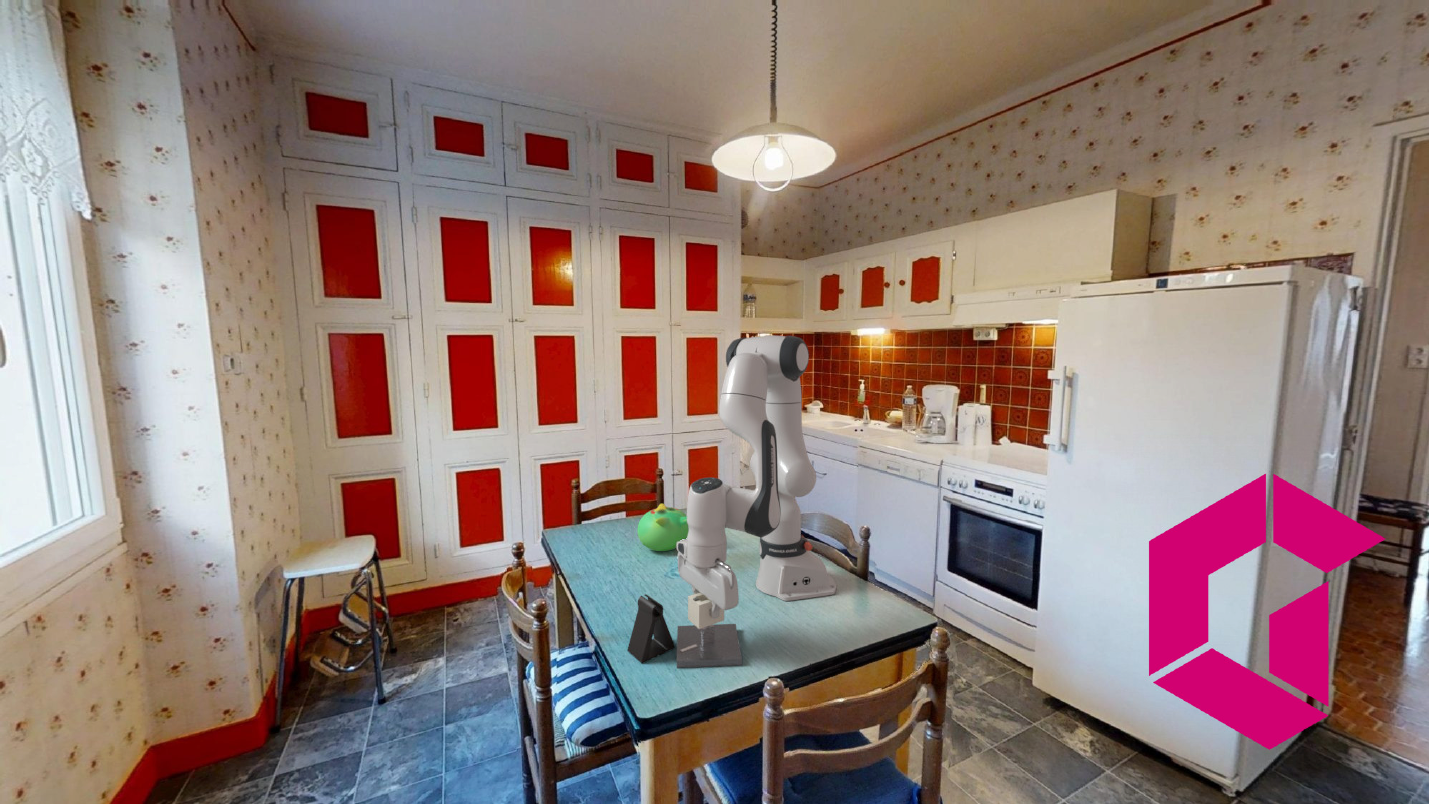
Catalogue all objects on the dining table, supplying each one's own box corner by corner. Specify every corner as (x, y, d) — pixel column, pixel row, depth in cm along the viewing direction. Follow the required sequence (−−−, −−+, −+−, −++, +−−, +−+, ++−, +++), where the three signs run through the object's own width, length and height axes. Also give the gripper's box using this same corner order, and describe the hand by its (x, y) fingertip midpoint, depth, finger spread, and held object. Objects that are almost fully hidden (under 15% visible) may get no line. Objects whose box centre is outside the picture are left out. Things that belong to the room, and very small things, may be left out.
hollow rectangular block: (712, 611, 121) (712, 587, 120) (724, 620, 117) (724, 595, 116) (688, 619, 117) (688, 594, 116) (699, 629, 113) (699, 603, 112)
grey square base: (735, 629, 125) (735, 605, 124) (741, 665, 111) (741, 638, 111) (677, 631, 124) (677, 607, 124) (676, 668, 111) (676, 640, 110)
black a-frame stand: (660, 636, 122) (659, 588, 121) (675, 648, 118) (674, 598, 116) (627, 651, 117) (625, 601, 115) (641, 664, 112) (639, 611, 111)
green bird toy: (675, 535, 187) (674, 496, 185) (701, 550, 173) (700, 507, 171) (630, 547, 176) (628, 505, 175) (654, 564, 163) (652, 519, 161)
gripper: (746, 565, 108) (745, 627, 110) (695, 535, 125) (695, 589, 127) (720, 572, 105) (720, 636, 106) (672, 540, 122) (673, 596, 123)
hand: (706, 610), depth 117 cm, fingers closed on hollow rectangular block, 5 cm apart
